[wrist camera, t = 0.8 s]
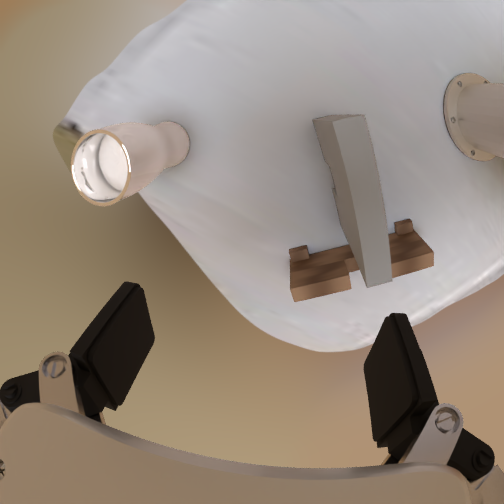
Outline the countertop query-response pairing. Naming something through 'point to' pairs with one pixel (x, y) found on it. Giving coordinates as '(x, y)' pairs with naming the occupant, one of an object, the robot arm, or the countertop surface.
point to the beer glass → (125, 159)
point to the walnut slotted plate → (353, 263)
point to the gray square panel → (357, 192)
